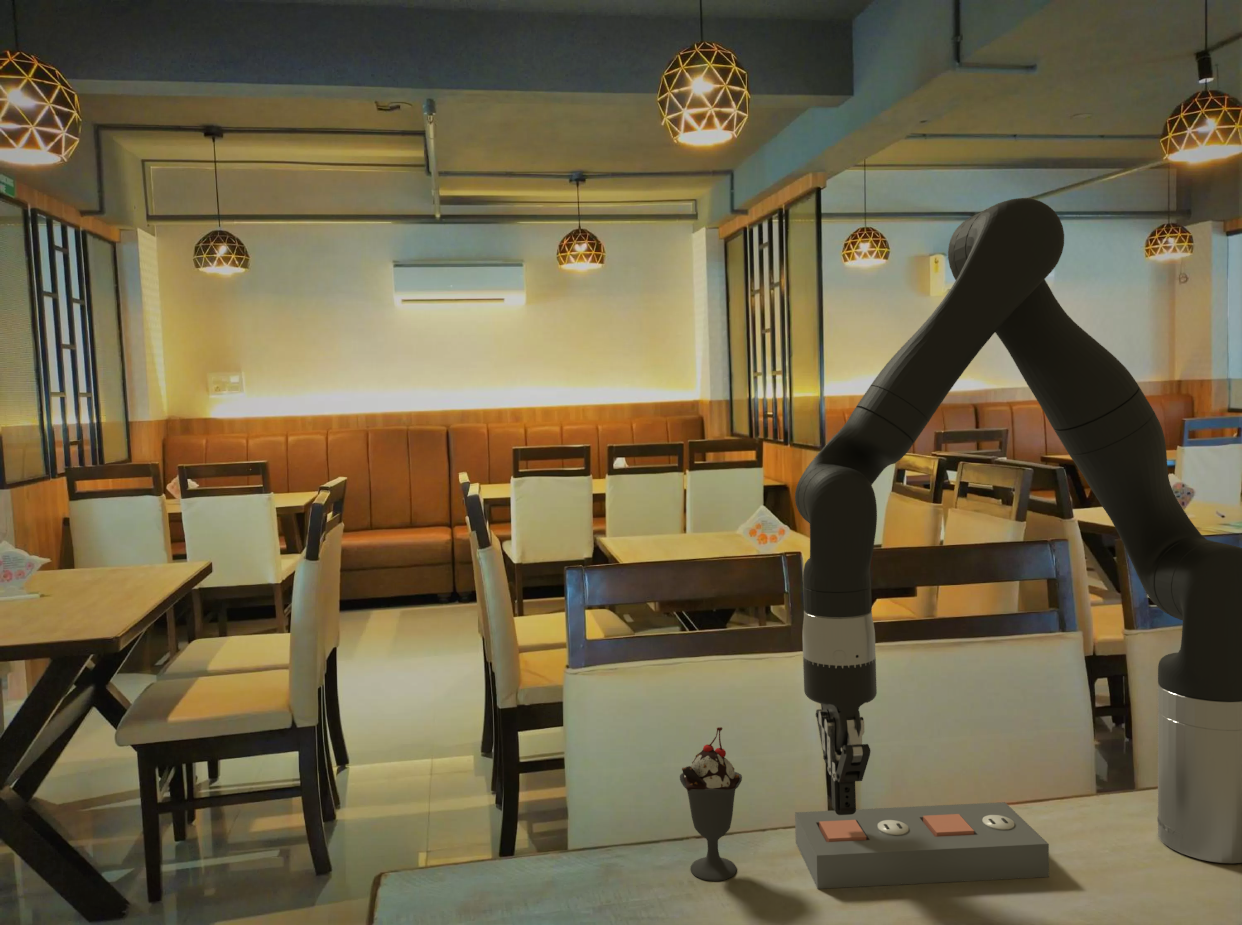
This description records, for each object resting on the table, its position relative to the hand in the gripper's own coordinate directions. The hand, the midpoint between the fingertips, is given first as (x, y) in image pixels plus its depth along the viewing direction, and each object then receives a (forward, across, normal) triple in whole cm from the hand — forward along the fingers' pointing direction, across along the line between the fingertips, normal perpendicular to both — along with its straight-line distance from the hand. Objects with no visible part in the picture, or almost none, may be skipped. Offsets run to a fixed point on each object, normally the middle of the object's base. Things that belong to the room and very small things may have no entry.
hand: (843, 811), depth 99 cm
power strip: (+6, 0, -8) cm, 10 cm away
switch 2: (+4, 0, -11) cm, 12 cm away
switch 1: (+4, 0, 0) cm, 4 cm away
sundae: (+6, 0, +14) cm, 15 cm away
